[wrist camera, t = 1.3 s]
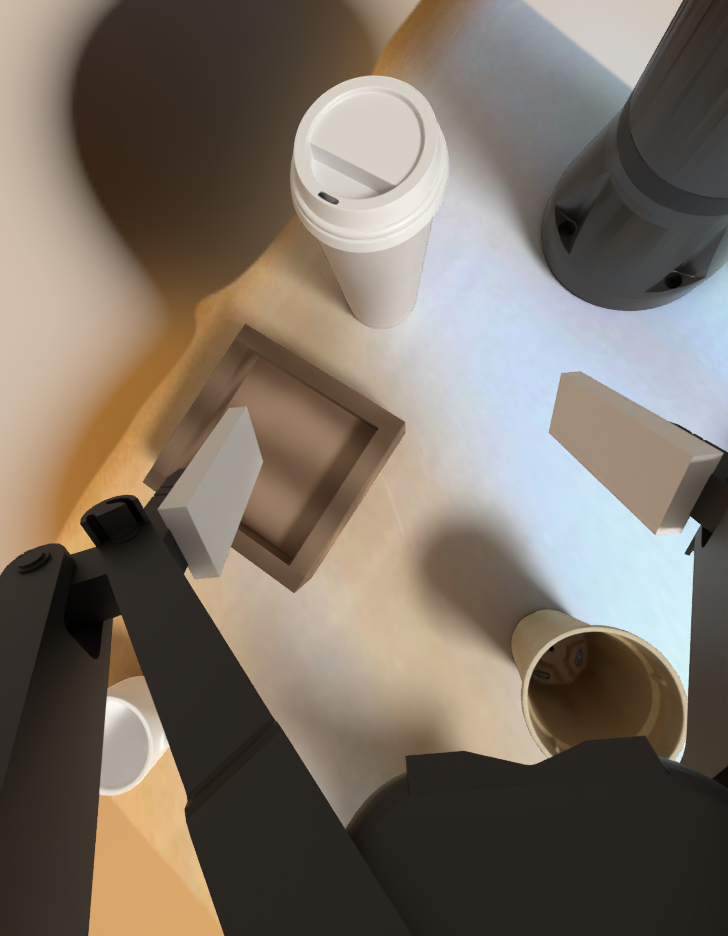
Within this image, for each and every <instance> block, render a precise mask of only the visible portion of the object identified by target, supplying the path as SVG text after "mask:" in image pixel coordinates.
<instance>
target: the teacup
mask: <svg viewBox="0 0 728 936" xmlns="http://www.w3.org/2000/svg"><path fill="white" fill-rule="evenodd" d="M167 748H170V746H169V744H168V741H167V738H166V735H165V733H164V730H163V727H162V724H161V722H160V719H159V716H158V713H157V711H156V708H155V705H154V702H153V700H152V697H151V694H150V691H149V689H148V686H147V683H146V680H145V678H144V676H135V677H130V678H127V679H125V680H122V681H120V682H118V683H116V684H114V685H112V686H110V687H109V688H108V689H107V701H106V714H105V727H104V740H103V753H102V765H101V778H100V791H99V794H101V795H118V794H121V793H124V792H126V791H128V790H130V789H132V788H133V787H135V786H136V785H137V784H138V783H139V782H140V781H141V780H142V779H143V778H144V777H145V776H146V775H147V773H148V772H149V771H150V770H151V768H152V767H153V766H154V765H155V764H156V762H157V761H158V760H159V759H160V757H161V756H162V755H163V753H164V752H165V751H166V750H167Z"/></svg>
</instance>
